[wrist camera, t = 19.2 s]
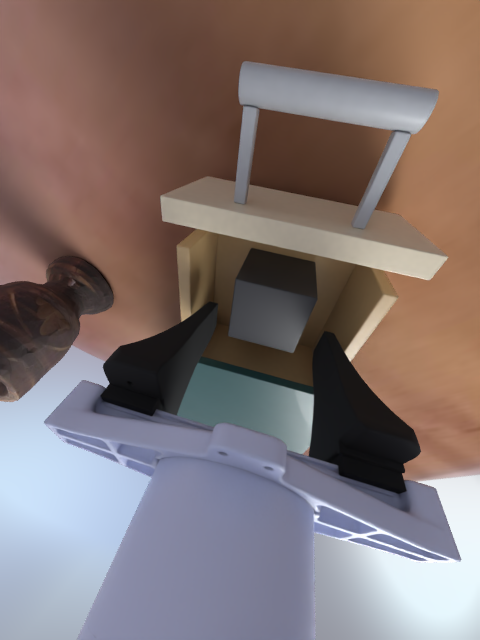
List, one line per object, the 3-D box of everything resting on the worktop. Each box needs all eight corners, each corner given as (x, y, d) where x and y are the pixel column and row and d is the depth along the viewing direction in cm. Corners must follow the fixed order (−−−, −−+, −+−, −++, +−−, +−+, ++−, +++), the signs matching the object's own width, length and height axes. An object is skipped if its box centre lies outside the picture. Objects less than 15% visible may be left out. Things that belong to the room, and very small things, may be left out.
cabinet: (201, 294, 23) (162, 352, 17) (337, 328, 22) (349, 404, 16) (199, 373, 33) (174, 429, 27) (295, 400, 32) (292, 465, 25)
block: (295, 312, 20) (293, 353, 16) (242, 299, 20) (227, 336, 17) (315, 261, 17) (318, 298, 13) (251, 247, 17) (235, 278, 13)
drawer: (209, 75, 12) (143, 34, 7) (457, 114, 11) (579, 98, 6) (203, 318, 24) (176, 365, 19) (322, 349, 23) (326, 407, 18)
